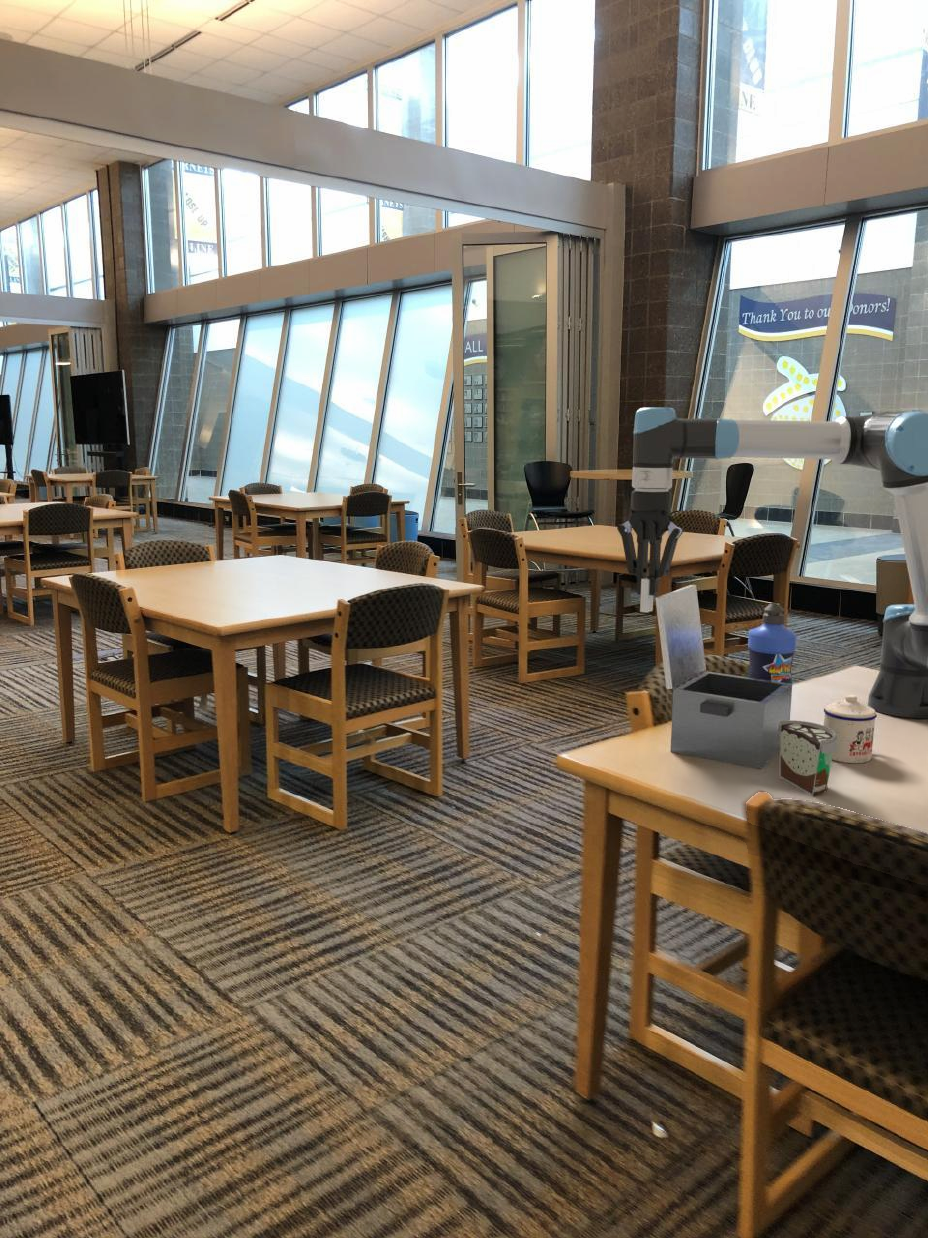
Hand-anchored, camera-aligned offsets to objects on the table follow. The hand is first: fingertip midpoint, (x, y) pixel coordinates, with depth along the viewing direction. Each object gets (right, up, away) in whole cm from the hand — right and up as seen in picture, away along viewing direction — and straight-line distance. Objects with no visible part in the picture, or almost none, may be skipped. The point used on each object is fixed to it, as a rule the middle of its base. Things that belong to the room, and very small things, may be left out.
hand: (646, 611), depth 189 cm
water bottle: (+27, -23, +11) cm, 37 cm away
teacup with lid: (+37, -27, -8) cm, 46 cm away
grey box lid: (+7, -5, -4) cm, 9 cm away
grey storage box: (+15, -26, -5) cm, 31 cm away
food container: (+24, -30, -24) cm, 45 cm away
